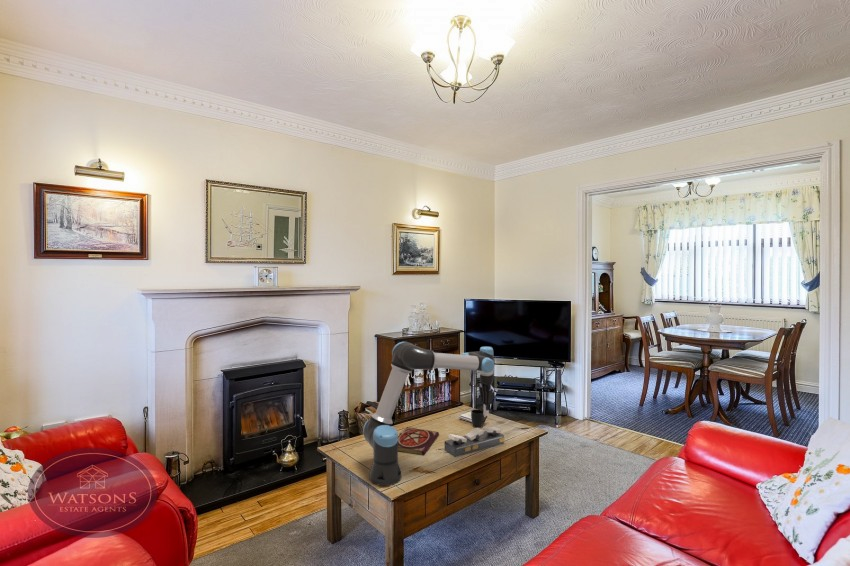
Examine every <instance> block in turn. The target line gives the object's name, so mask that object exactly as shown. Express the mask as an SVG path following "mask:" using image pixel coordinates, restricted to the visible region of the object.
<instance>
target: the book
mask: <svg viewBox="0 0 850 566" xmlns="http://www.w3.org/2000/svg"><path fill="white" fill-rule="evenodd" d="M439 435H440V433H439V431H434V430H429V429H424V428H417V427H412V426H411V427H410V426H407V427H406V428H405V429H402V431H401V432H399V433H398V453H402V452H404V453H408V454H414V455H415V454H416V455H421V456H425V455H426V454H427V452H428V451H429V450H430V448H431V447H432V446H433V444H434V443H435V441H436V439H438V437H439Z"/></svg>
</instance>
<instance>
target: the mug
mask: <svg viewBox="0 0 850 566" xmlns="http://www.w3.org/2000/svg"><path fill="white" fill-rule="evenodd" d="M470 412H471V413H470V417H471V418H470V419H471V422H472V423H471V424H472V427H473V428H474V429H476V428H477V427H478V428H480V429H481V428H482V427H483V425H484V424H485V422H486V420H487V418H488V416H484V409H477V408H476V409H471V411H470Z"/></svg>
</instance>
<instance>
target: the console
mask: <svg viewBox="0 0 850 566" xmlns="http://www.w3.org/2000/svg"><path fill="white" fill-rule="evenodd" d="M483 432H484V433H483V434H482V435H480V437H479V439H473V440H472V441H471V440H469V439H467V438H466V436H465V435H464V436H462V437H464V438H466V439H467V441H466V442H462V443H461V444H458V443H457V442H455V441H454V440H452V439H451V438H450V439H448V440H444V449H443V450H444V451H445V452H446V453H448V454H450V455H451V456H452V457H454V458H456V457H460V456H464V455H468V454H472V453H475V452H478V451H482V450H487V449H490V448H494V447H497V446H501V445H504V444H505V435H504V434H502V433H501V432H500V433H496V434H495V435H493V434H491V433H489V432H487V431H485V430H483Z"/></svg>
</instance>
